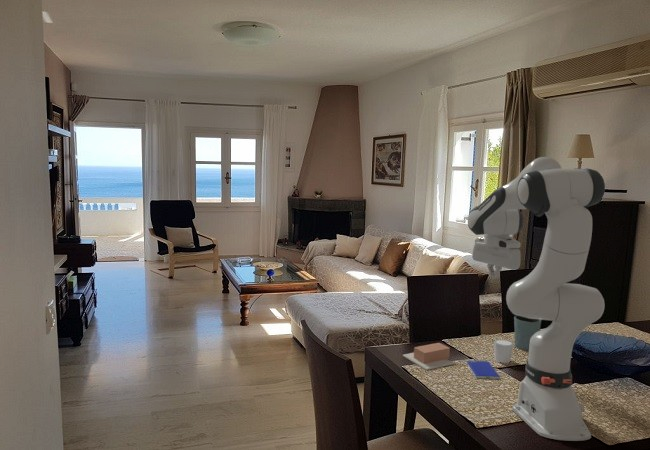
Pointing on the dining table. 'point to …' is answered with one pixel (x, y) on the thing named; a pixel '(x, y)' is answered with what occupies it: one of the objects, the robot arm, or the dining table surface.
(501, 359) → the shot glass
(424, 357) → the block
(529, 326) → the teal bucket
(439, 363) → the mat
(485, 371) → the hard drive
